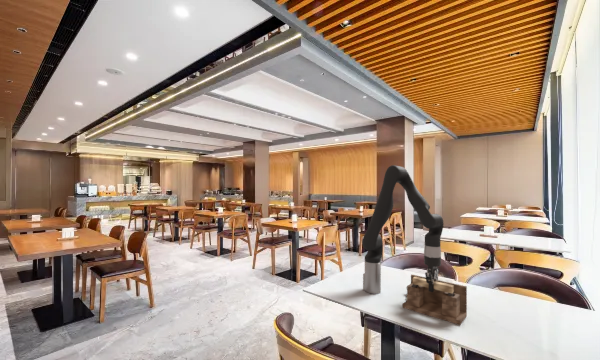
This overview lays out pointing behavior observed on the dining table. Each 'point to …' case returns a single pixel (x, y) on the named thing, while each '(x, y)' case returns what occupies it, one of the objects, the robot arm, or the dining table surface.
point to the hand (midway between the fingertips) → (432, 290)
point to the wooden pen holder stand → (438, 302)
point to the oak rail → (437, 285)
